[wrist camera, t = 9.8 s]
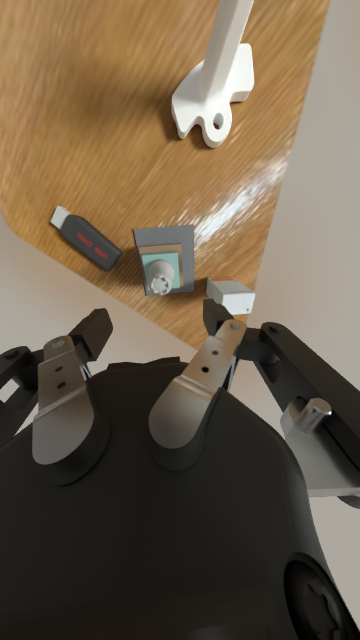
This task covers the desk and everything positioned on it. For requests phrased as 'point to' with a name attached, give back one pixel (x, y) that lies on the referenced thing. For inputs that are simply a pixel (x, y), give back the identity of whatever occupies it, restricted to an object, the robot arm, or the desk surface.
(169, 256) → the teal block
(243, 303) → the skincare box
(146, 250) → the walnut block
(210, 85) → the white ball-topped post
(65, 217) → the usb drive
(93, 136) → the desk surface
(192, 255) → the mat
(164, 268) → the rook chess piece
